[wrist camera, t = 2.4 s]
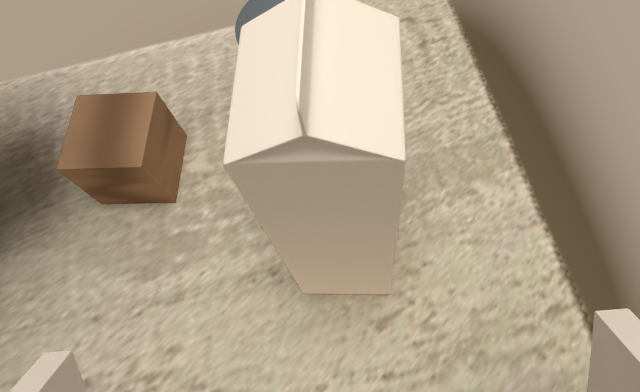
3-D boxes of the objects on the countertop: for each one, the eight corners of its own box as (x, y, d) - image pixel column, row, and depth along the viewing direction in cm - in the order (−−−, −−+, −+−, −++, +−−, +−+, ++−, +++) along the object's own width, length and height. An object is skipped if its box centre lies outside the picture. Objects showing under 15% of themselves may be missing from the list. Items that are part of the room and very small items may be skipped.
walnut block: (102, 204, 37) (55, 169, 32) (118, 138, 40) (77, 95, 34) (176, 203, 37) (141, 166, 31) (187, 136, 39) (156, 91, 34)
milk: (388, 213, 34) (410, -65, 14) (390, 296, 32) (421, 100, 12) (304, 213, 35) (214, -52, 15) (300, 295, 32) (186, 108, 13)
